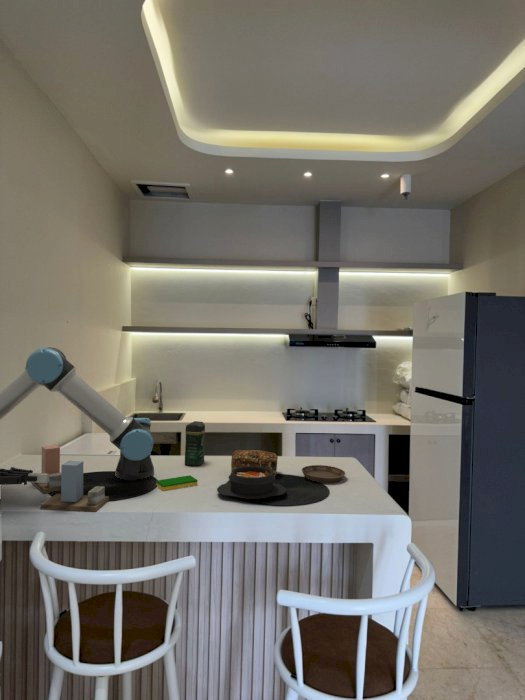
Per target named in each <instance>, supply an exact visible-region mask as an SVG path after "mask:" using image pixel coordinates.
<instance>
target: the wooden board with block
mask: <svg viewBox="0 0 525 700" xmlns="http://www.w3.org/2000/svg"><path fill="white" fill-rule="evenodd" d="M105 491H106V487H105V486H101V485H100V486H99V485H96V486H94V487H92V489H90V490H89V491H88V492H87V494H83V497H82V498H81V499H79V500H78V501H77V502H63V501H61V493H56V494H54V495H52V496H51V497H50V498H48V499H47V500H45V501H43V502H42V503H40V507H39V509H40V510H57V511H74V512H92V513H93V512H94V513H97V512H98V511H99V510H100V509H101V508H102V507H104V506H105V505H106V504H107V503H108V502H109V501H110V496H109V495H106V493H105Z"/></svg>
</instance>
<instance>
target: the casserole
mask: <svg viewBox="0 0 525 700" xmlns="http://www.w3.org/2000/svg"><path fill="white" fill-rule="evenodd" d="M228 480H229V483H222V484H221V485H219V486H218V487H217V488H216V491H217V493H218V494H219V495H221V496H225V497H235V498H238V499H242V498H245V499H244V500H249V499H256V500H262V499H265V498H271V497H276V496H282V495H285V493H286V492H287V489H286V486H284V485H283V484H280V483H274V482H275V481H276V477H275V476H274V475H273V472H272V471H271V470H270V469H267V468H264V467H257V466H245V467H239V468H236V469H233V470H232V472H230V474H229V475H228ZM261 498H262V499H261Z"/></svg>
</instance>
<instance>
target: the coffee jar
mask: <svg viewBox="0 0 525 700" xmlns="http://www.w3.org/2000/svg"><path fill="white" fill-rule="evenodd" d="M205 433H206V424H205V423H204V422H203V421H196V420H195V421H193V422H190V423H188V424H186V425H185V444H184V445H185V447H184V451H185V452H184V465H186V464H187V466H189V465H195V466H201V465H202V464H203V463H204V462H205V435H206V434H205ZM200 464H201V465H200Z"/></svg>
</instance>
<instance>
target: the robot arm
mask: <svg viewBox="0 0 525 700" xmlns="http://www.w3.org/2000/svg"><path fill="white" fill-rule="evenodd" d="M76 369H77V368H76V366H74V364H72V363H71V362H70V361H69V360H68V359H67V357H66V355H65V353H64V352H63V351H61V349H58V348H56V347H41V348H38V349H35V350H34V351H33V352H32V353H31V354H30V355H29V356H28V358H27V360H26V363H25V367H24V372H22V373H21V374H20V375H19V376H17V377H16V378H15V379H14V380H13V381H12V382H11V383H10V384H9V385H7V386H6V387H4V389H3V390H1V391H0V421H1V420H2V419H3V418H4V417H6V416H7V415H8V414H9V413H10V412H12V411H13V410H14V409H15V408H17V406H19V404H21V403H23V401H25V399H26V398H28V397H29V396H30V395H31V394H32V393H34V392H35V391H36V390H37V389H38V388H39V387H44V388H46V389H47V390H49V391H50V392H51V393H52V392H58V393H59V394H60V395H62V396H63V397H64V398H65V399H66V400H67V401H69V402H70V403H71V404H72V405H73V406H75V407H76V408H77V409H78V410H79V411H80V412H82V413H83V415H85V416H86V417H87V418H88V419H90V420H91V421H92V422H93V423H95V424H96V425H97V426H98V427H100V428H101V430H103V431H104V432H105V433H106V434H107V435H108V436H109V442H110V443H111V444H112V445H113V446H115V447H116V448H117V449H118V450H119V458H118V462H117V465H116V468H115V471H114V472H115V473H114V475H115V476H116V477H117V478H116V477H115V476H114V477H115V478H116V479H118V478H120V479H119V480H121V479H124V480H123V481H138V480H137V479H141V480H144V479H143V478H146V479H148V478H147V477H149V478H151V477H153V476H154V475H155V467H154V464H153V461H152V458H151V452H152V450H153V448H154V441H155V440H154V437H153V435H152V433H151V425H152V422H151V419H150V418H148V417H133V416H131V417H130V416H125V414H123V413H122V412H121V411H120V410H118V409H117V408H116V407H115V406H114V405H113V404H112V403H110V401H108V400H107V399H106V398H105V397H104V396H102V394H100V393H99V391H97V390H95V388H93V387H92V386H90V384H88V383H87V382H86V381H85V380H84V379H83V378H81V376H79V375H78V374H77V370H76ZM150 476H151V477H150ZM32 482H35V483H48V482H49V474H46V473H42V472H34V470H32V469H24V468H17V467H13V466H12V467H10V468H9V469H7V468H6V469H5V468H0V486H5V485H6V486H7V485H11V486H12V485H22V484H23V485H24V486H27V485H28V483H32Z"/></svg>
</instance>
